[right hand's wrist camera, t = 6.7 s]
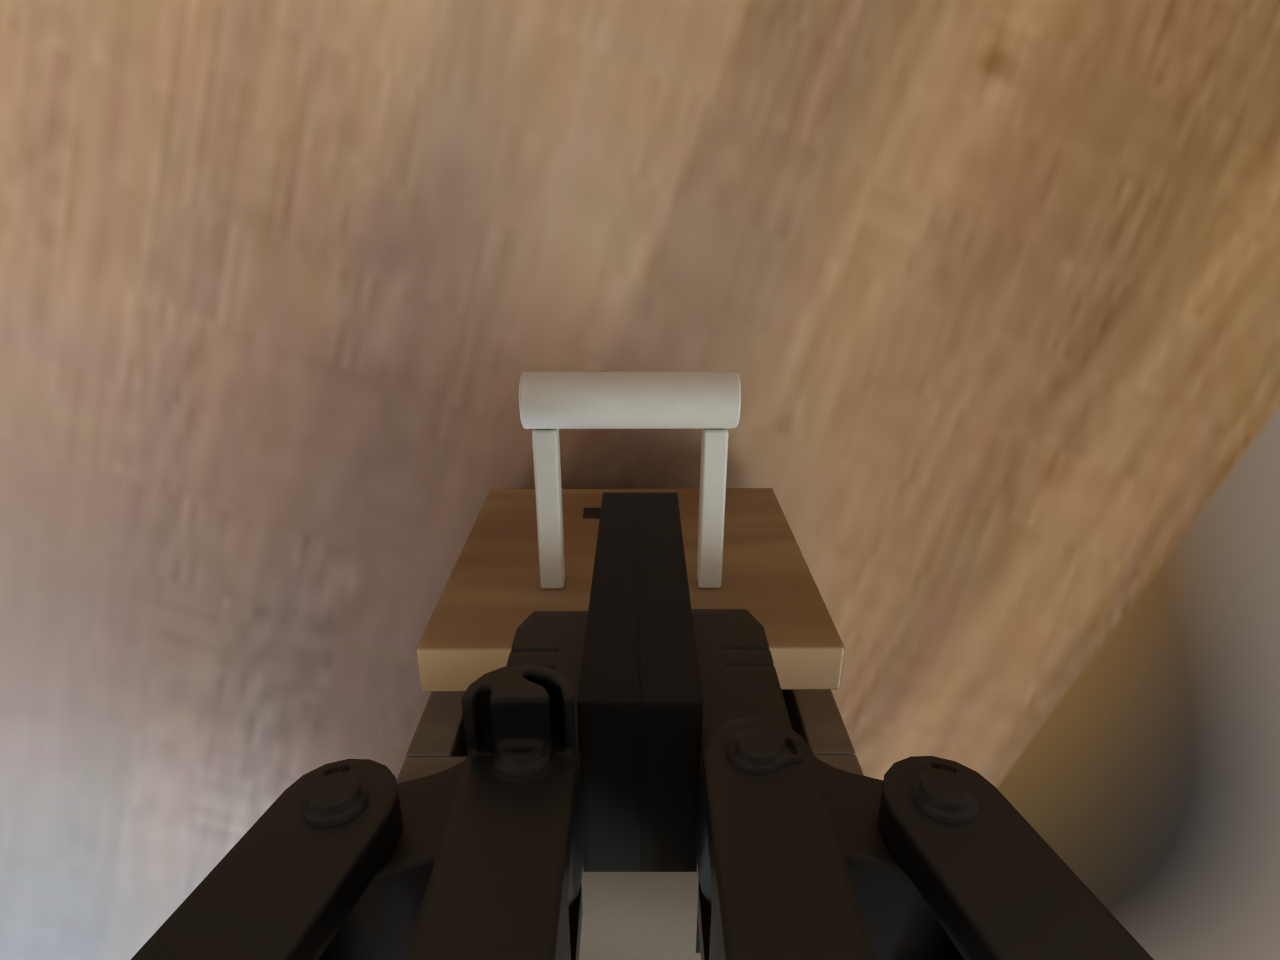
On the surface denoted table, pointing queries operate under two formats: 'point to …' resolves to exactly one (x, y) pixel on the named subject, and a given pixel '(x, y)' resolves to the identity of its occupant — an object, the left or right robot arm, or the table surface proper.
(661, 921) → the cabinet
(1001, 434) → the table surface
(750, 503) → the drawer
